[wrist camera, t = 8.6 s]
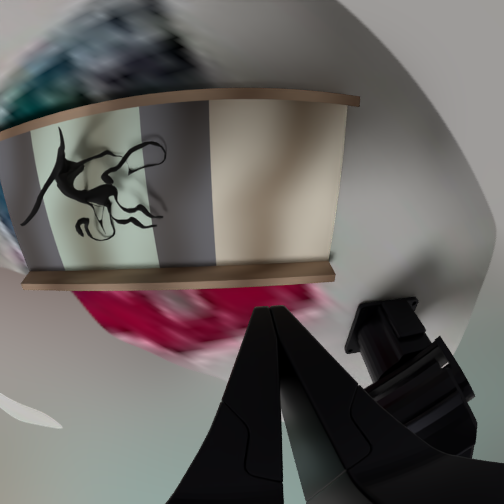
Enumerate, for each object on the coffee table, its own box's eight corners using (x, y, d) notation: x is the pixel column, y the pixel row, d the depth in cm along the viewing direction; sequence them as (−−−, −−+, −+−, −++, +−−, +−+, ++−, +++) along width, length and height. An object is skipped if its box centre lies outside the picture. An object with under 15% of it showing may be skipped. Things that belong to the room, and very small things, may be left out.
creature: (195, 161, 17) (88, 95, 13) (206, 204, 13) (56, 117, 9) (132, 246, 20) (37, 199, 15) (128, 303, 16) (8, 249, 11)
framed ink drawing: (346, 94, 15) (360, 96, 13) (325, 265, 21) (334, 281, 20) (-6, 134, 13) (-23, 141, 11) (33, 275, 19) (23, 289, 18)
